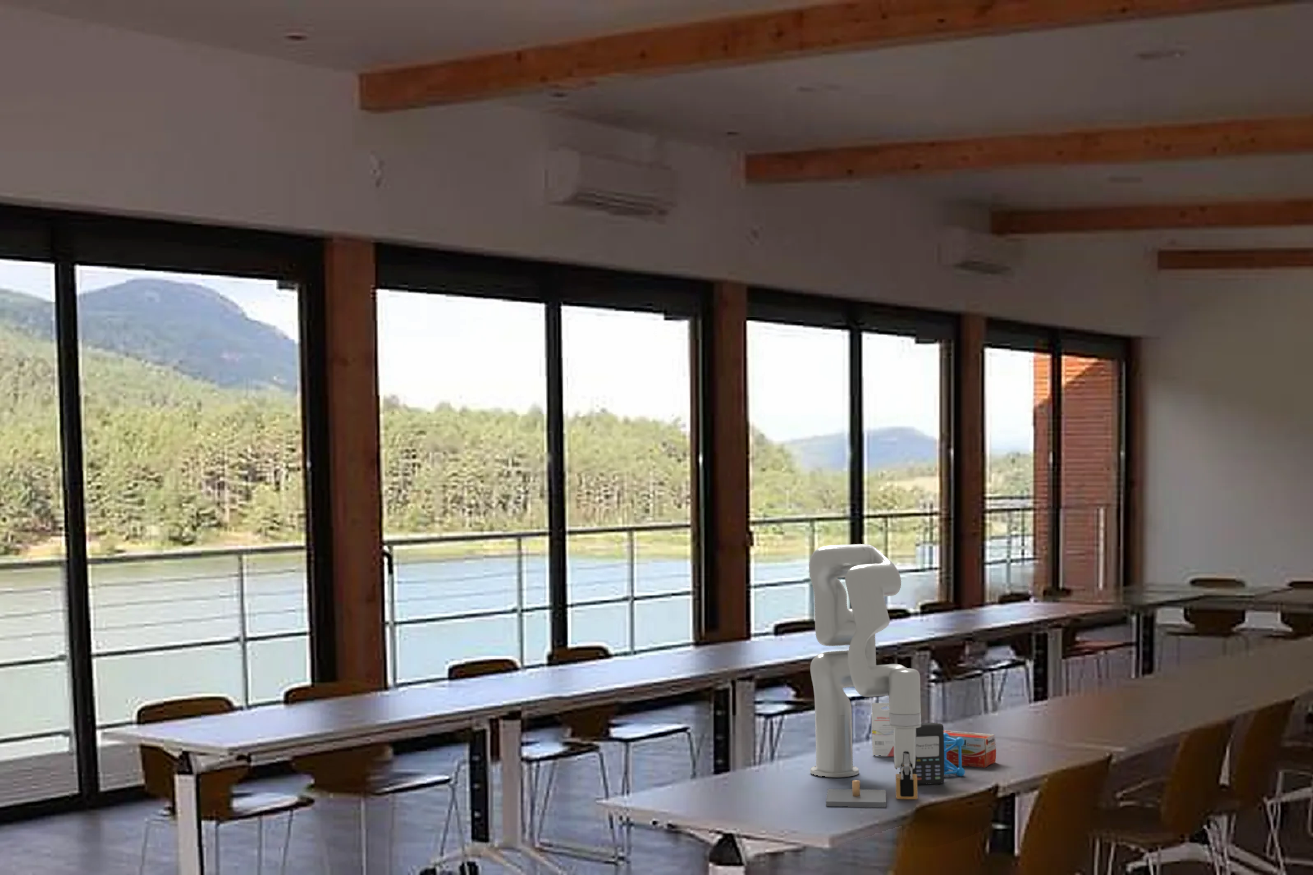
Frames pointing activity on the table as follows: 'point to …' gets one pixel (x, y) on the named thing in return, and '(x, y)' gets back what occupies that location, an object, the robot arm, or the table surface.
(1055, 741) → the table surface
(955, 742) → the molecular structure
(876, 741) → the ink cartridge box
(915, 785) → the tan wooden cube
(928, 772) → the card reader
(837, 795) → the plate
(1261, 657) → the table surface
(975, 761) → the medicine box
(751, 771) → the table surface
